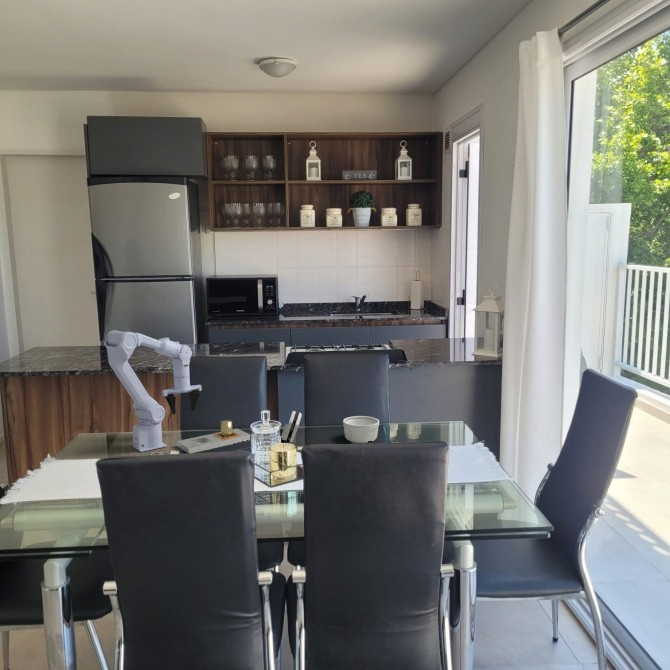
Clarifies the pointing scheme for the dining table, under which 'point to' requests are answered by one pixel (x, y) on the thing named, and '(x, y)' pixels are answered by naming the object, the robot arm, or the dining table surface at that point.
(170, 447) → the dining table surface
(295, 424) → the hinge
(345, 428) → the ramekin
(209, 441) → the grey rectangular board
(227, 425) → the peg
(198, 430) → the dining table surface
